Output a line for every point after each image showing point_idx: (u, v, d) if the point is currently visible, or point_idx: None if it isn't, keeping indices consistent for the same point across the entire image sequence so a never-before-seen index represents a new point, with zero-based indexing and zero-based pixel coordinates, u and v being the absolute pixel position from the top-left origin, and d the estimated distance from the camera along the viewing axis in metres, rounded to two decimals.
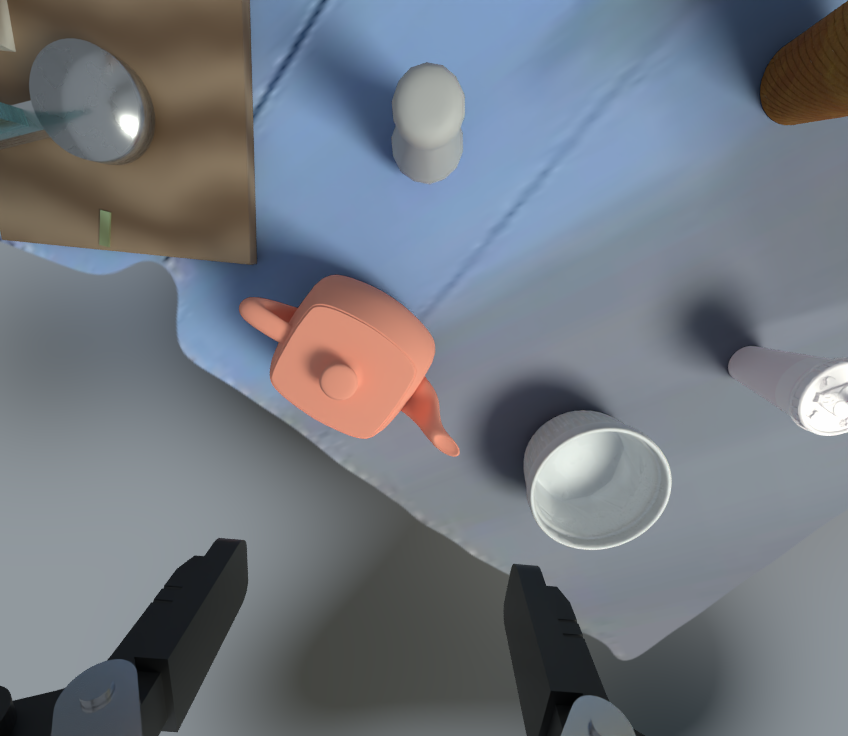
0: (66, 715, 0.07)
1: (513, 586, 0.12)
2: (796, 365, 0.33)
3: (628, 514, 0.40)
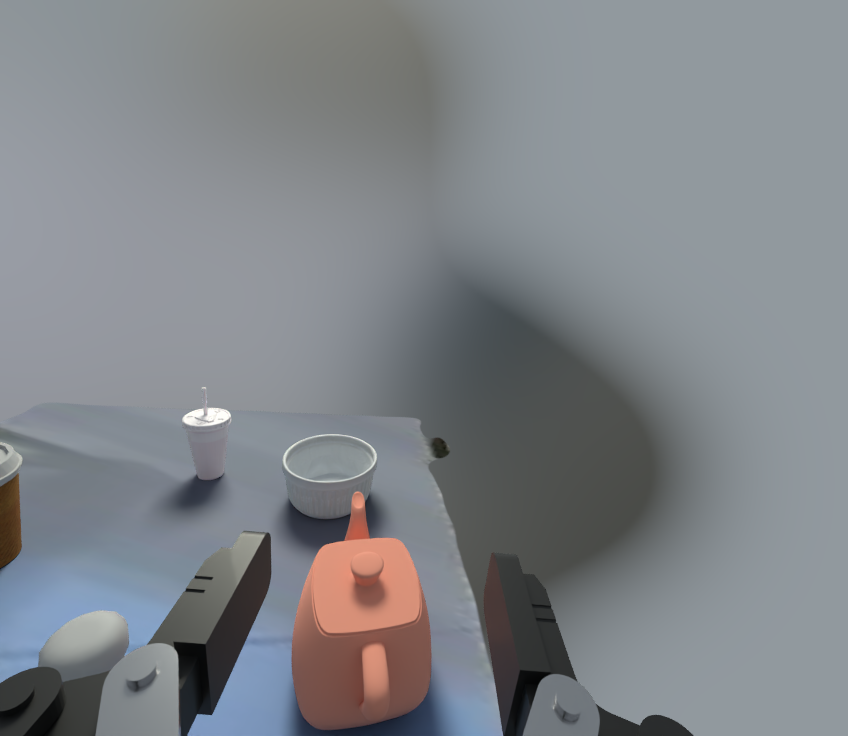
0: (113, 692, 0.07)
1: (492, 574, 0.12)
2: (198, 440, 0.57)
3: (336, 448, 0.64)
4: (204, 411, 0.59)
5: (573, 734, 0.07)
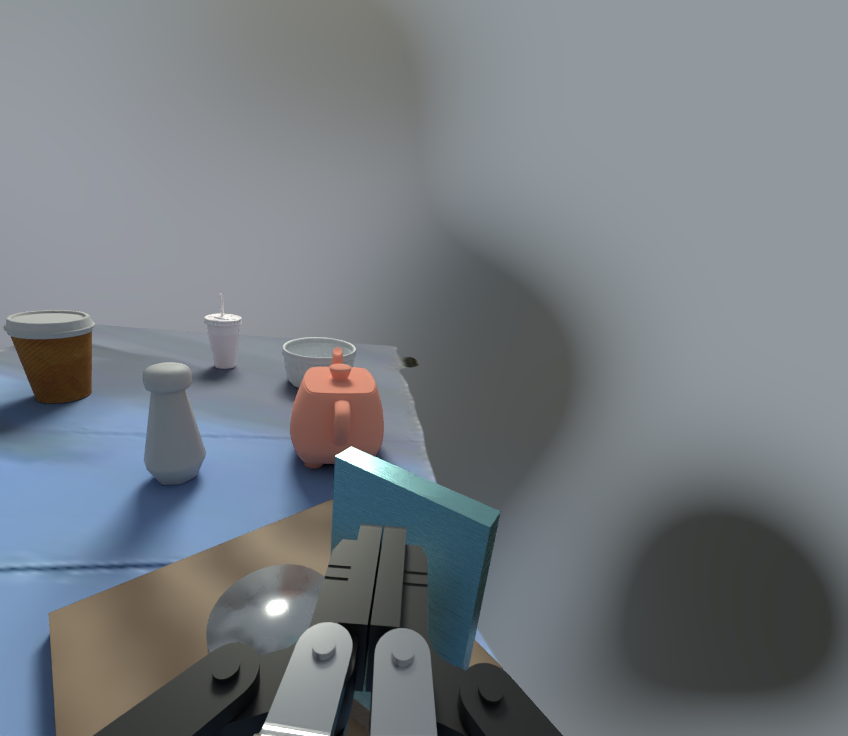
0: (301, 653, 0.08)
1: None
2: (216, 333, 0.74)
3: (324, 348, 0.81)
4: (221, 313, 0.76)
5: (412, 675, 0.08)
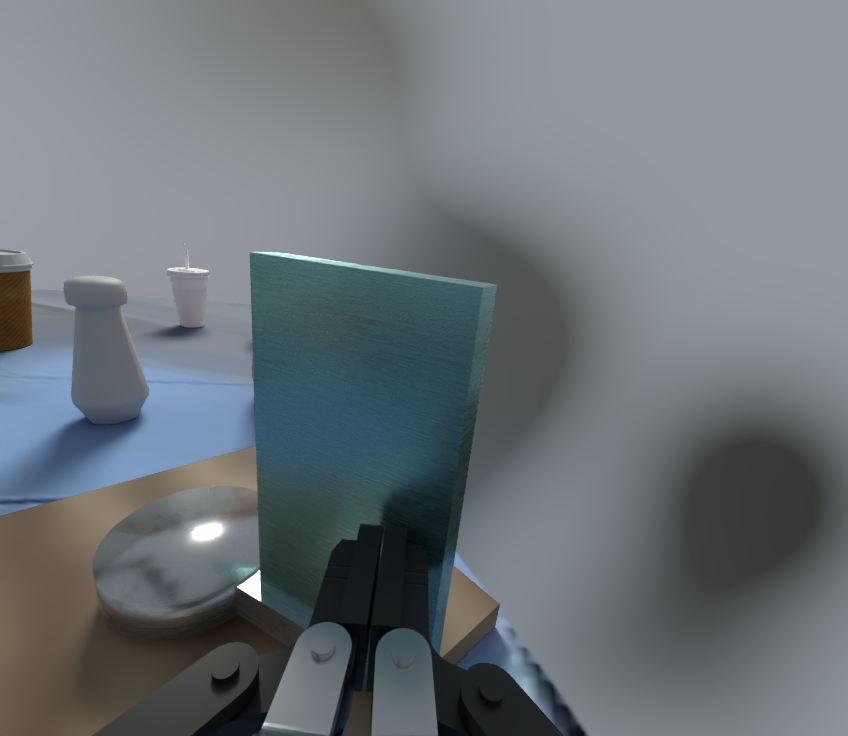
0: (300, 653, 0.08)
1: None
2: (180, 287, 0.67)
3: None
4: (186, 265, 0.69)
5: (413, 675, 0.08)
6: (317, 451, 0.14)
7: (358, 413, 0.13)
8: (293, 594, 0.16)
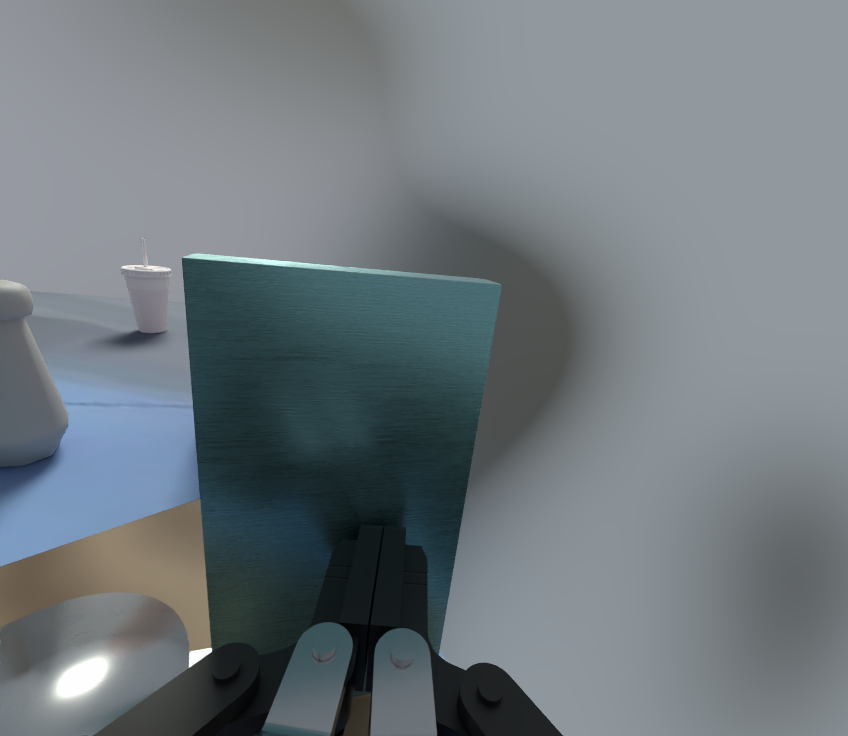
0: (301, 653, 0.08)
1: None
2: (137, 287, 0.59)
3: None
4: (144, 263, 0.61)
5: (412, 675, 0.08)
6: (311, 487, 0.12)
7: (370, 428, 0.12)
8: None
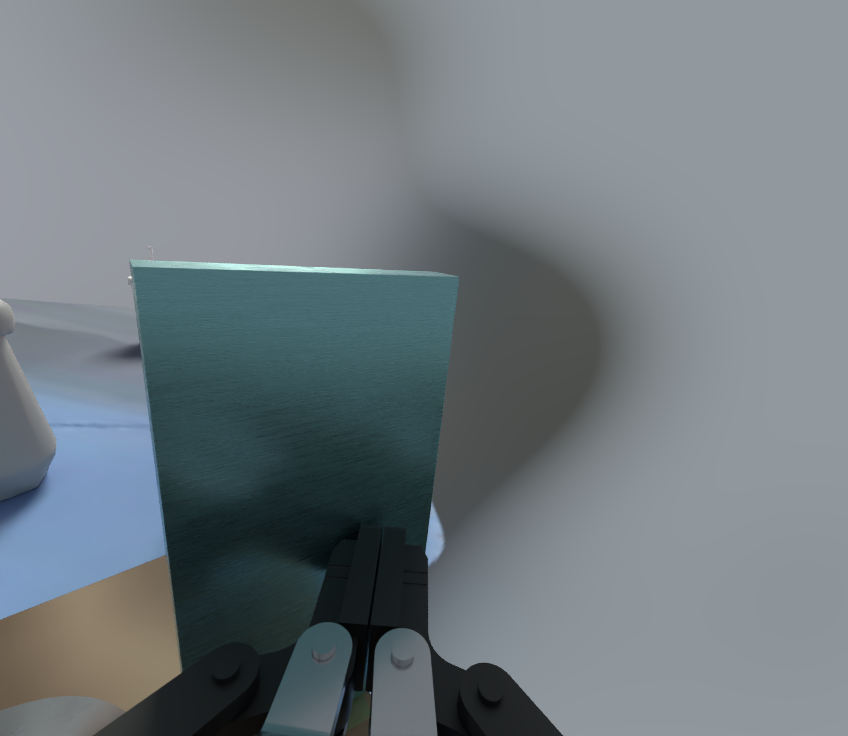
0: (301, 653, 0.08)
1: None
2: None
3: None
4: None
5: (412, 675, 0.08)
6: (294, 507, 0.11)
7: (349, 432, 0.11)
8: None
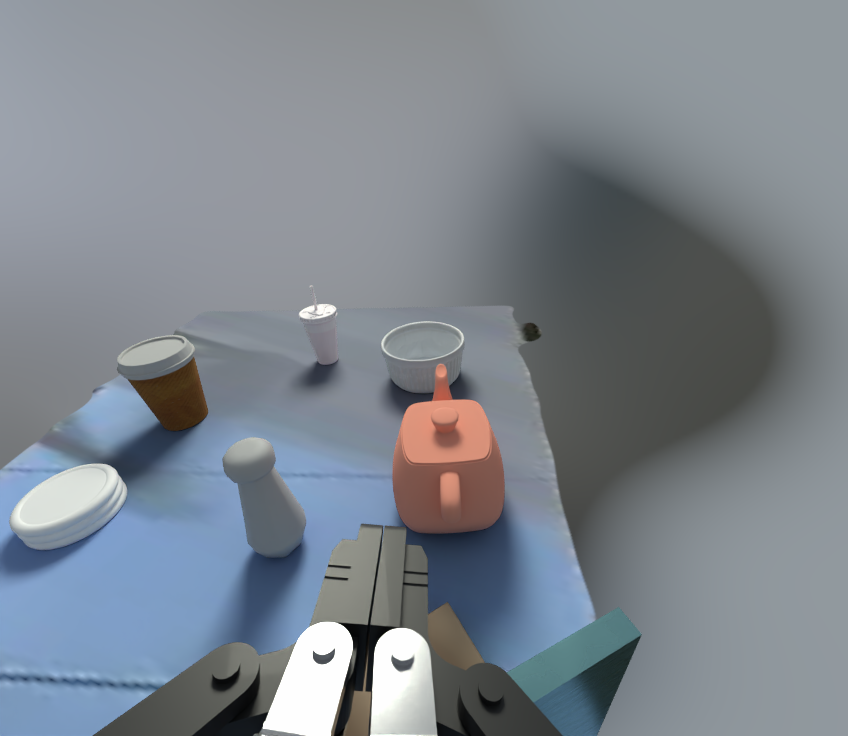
0: (301, 653, 0.08)
1: None
2: (313, 331, 0.68)
3: (428, 333, 0.70)
4: (314, 307, 0.69)
5: (412, 675, 0.08)
6: None
7: (561, 720, 0.18)
8: None
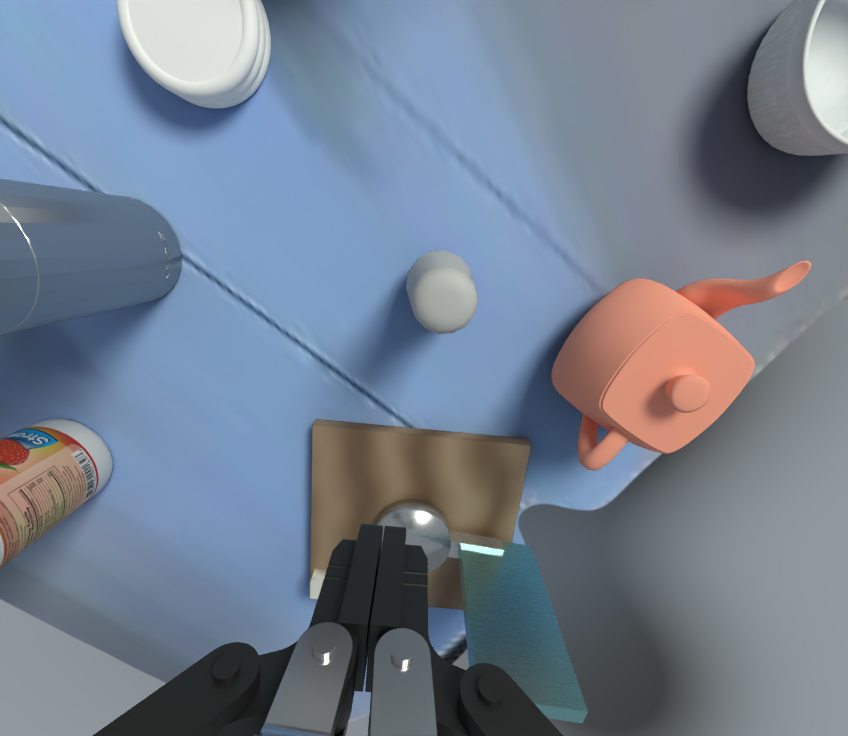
0: (301, 653, 0.08)
1: None
2: None
3: None
4: None
5: (412, 675, 0.08)
6: None
7: None
8: None
